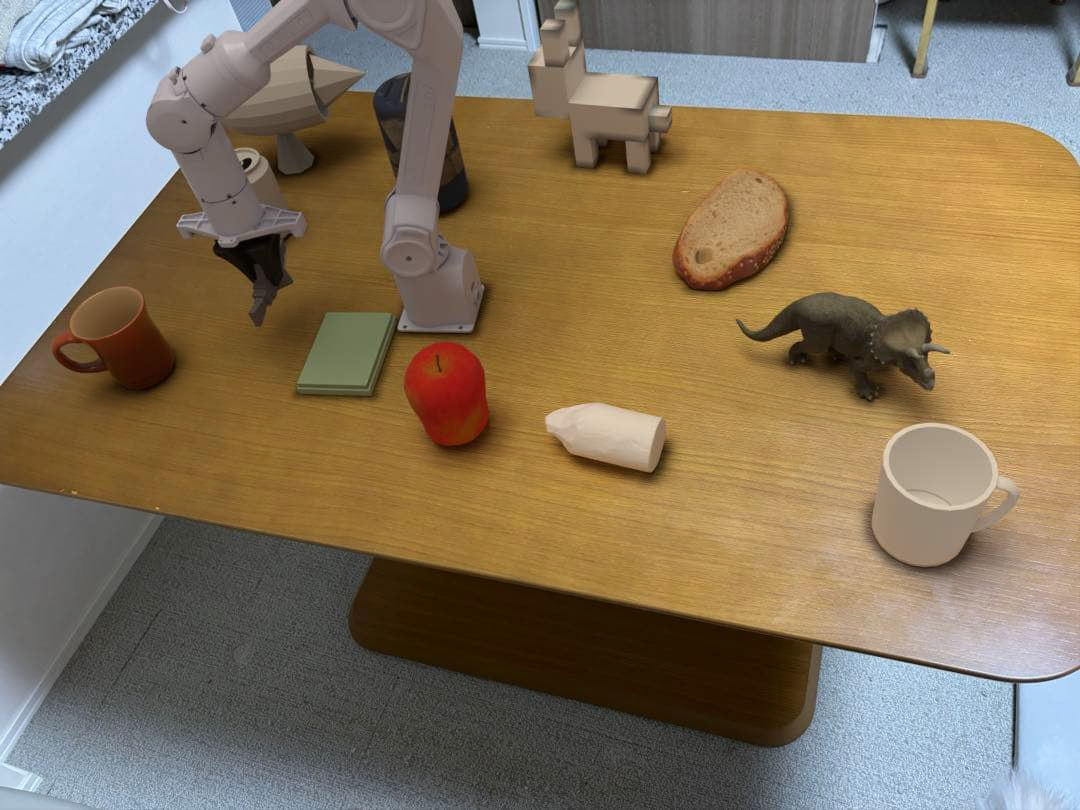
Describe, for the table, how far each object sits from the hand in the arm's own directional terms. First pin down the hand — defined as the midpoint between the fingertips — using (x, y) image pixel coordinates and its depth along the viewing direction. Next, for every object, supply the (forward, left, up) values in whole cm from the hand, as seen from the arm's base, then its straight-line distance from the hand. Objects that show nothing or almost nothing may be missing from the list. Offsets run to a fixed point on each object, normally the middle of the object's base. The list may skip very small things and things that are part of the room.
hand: (269, 280), depth 105 cm
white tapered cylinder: (-41, +16, -9) cm, 45 cm away
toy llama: (-36, -35, -9) cm, 51 cm away
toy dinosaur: (-65, +4, -9) cm, 65 cm away
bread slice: (-53, -18, -9) cm, 56 cm away
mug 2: (-72, +24, -9) cm, 76 cm away
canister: (-13, -26, -9) cm, 30 cm away
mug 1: (+18, +8, -9) cm, 22 cm away
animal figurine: (0, 0, -2) cm, 2 cm away
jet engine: (+9, -35, -9) cm, 37 cm away
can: (+10, -19, -9) cm, 23 cm away
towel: (-9, +4, -8) cm, 13 cm away
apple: (-25, +14, -9) cm, 30 cm away
